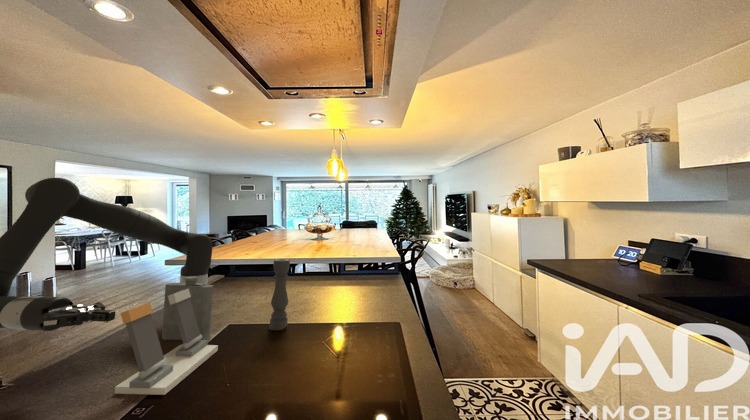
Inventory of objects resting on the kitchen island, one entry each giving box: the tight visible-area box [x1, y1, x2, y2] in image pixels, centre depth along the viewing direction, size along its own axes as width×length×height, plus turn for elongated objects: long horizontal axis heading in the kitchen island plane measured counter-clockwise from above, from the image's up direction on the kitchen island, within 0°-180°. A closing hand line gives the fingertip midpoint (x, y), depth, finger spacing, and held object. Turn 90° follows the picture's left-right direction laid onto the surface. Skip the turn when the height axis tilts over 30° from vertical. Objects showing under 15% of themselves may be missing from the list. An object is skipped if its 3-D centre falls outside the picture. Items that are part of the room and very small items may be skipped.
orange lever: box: [120, 302, 166, 379], centre depth 67 cm, size 2×6×16 cm, turn 2°
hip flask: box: [161, 276, 214, 342], centre depth 93 cm, size 16×4×20 cm, turn 85°
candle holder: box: [269, 258, 291, 330], centre depth 105 cm, size 6×6×25 cm
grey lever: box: [168, 289, 202, 349], centre depth 82 cm, size 2×6×16 cm, turn 2°
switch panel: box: [114, 340, 219, 396], centre depth 74 cm, size 11×23×3 cm, turn 1°
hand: (112, 316), depth 67 cm, fingers closed
